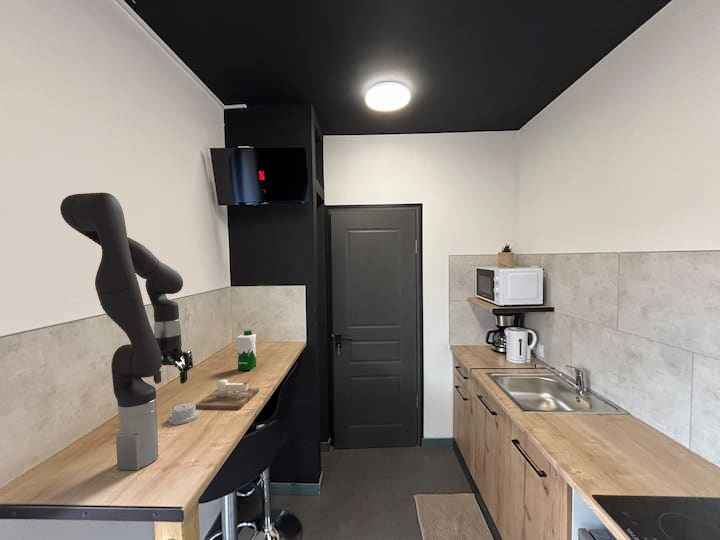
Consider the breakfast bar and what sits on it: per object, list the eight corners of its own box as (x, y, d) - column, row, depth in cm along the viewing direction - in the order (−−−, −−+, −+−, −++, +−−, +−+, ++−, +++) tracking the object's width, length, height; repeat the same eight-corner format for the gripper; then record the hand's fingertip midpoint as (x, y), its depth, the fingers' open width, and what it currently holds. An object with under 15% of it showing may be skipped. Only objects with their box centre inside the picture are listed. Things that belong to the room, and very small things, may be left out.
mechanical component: (161, 424, 121) (186, 426, 119) (161, 411, 121) (186, 413, 119) (181, 412, 130) (204, 413, 128) (181, 400, 130) (204, 402, 128)
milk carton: (258, 366, 186) (257, 330, 186) (250, 371, 177) (249, 333, 177) (243, 366, 188) (242, 330, 187) (235, 371, 179) (233, 333, 178)
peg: (245, 397, 138) (245, 382, 138) (216, 397, 139) (215, 382, 139) (249, 393, 142) (249, 379, 142) (220, 393, 143) (220, 379, 143)
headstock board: (240, 409, 131) (240, 404, 131) (195, 408, 133) (195, 404, 133) (258, 391, 149) (258, 387, 149) (219, 391, 151) (219, 387, 151)
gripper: (138, 337, 107) (142, 387, 108) (182, 336, 106) (185, 387, 107) (154, 331, 114) (157, 378, 115) (195, 330, 113) (198, 378, 114)
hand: (170, 382), depth 111 cm, fingers open, 8 cm apart
